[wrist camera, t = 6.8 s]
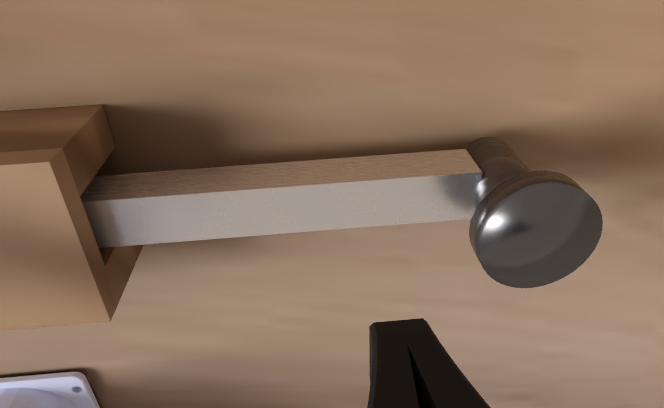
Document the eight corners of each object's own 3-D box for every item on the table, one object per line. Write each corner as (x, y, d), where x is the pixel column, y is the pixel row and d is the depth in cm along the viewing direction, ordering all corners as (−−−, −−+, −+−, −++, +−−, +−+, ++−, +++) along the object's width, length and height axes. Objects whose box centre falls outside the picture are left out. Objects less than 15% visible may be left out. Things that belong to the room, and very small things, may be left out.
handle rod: (522, 201, 22) (586, 282, 17) (119, 232, 21) (70, 326, 16) (538, 115, 20) (616, 181, 15) (91, 146, 19) (26, 226, 14)
